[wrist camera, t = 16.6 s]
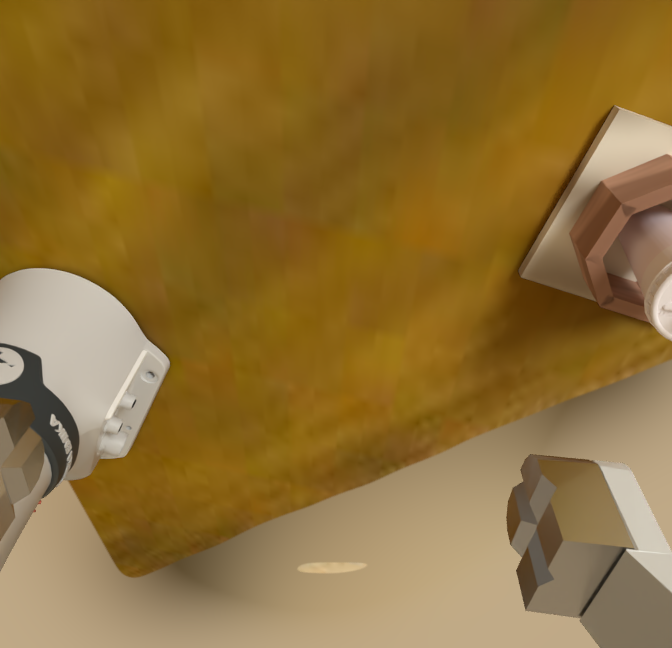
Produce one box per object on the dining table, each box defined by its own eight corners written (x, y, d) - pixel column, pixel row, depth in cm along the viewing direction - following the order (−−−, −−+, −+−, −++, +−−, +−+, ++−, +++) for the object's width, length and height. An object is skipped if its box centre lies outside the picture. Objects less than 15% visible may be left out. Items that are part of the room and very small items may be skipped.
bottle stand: (665, 318, 45) (693, 356, 41) (518, 270, 43) (531, 305, 39) (787, 168, 37) (836, 196, 33) (614, 105, 36) (643, 126, 32)
